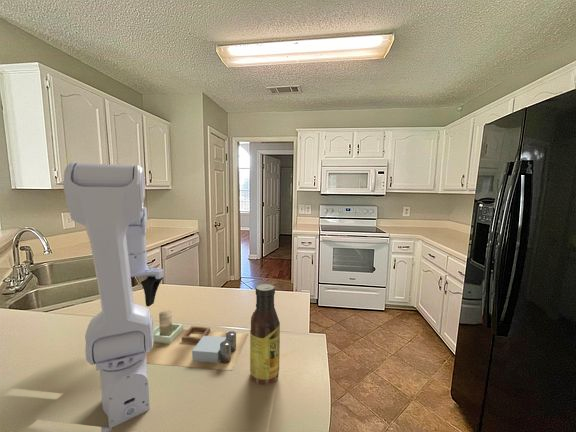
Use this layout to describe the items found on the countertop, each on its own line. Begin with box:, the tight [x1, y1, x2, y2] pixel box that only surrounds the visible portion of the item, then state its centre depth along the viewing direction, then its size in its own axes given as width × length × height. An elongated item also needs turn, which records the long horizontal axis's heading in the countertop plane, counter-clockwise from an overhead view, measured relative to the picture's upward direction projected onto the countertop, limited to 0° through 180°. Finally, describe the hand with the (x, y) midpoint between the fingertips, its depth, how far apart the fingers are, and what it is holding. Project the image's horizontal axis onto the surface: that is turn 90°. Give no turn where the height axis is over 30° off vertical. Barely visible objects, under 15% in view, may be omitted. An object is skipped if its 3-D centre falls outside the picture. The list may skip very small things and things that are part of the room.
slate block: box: [192, 336, 226, 363], centre depth 60 cm, size 6×6×2 cm
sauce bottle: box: [249, 283, 281, 386], centre depth 53 cm, size 6×6×20 cm
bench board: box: [146, 325, 249, 371], centre depth 63 cm, size 25×14×2 cm, turn 84°
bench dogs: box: [220, 330, 237, 364], centre depth 60 cm, size 2×6×4 cm, turn 174°
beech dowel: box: [158, 309, 173, 336], centre depth 67 cm, size 3×3×6 cm
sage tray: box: [153, 322, 184, 344], centre depth 67 cm, size 6×6×2 cm
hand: (136, 303), depth 65 cm, fingers open, 7 cm apart
